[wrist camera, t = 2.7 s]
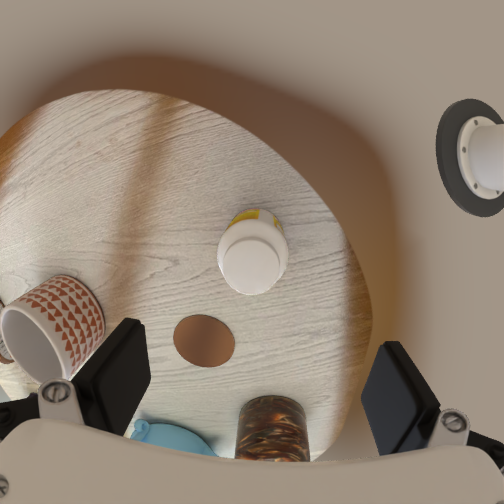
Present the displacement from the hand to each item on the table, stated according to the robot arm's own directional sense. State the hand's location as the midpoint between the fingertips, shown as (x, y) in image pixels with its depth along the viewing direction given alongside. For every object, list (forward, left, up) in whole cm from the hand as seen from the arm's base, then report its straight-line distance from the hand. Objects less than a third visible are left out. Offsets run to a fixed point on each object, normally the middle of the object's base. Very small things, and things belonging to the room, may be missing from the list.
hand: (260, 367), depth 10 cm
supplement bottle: (+1, 0, -26) cm, 26 cm away
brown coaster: (+8, +16, -26) cm, 32 cm away
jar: (-3, +32, -26) cm, 42 cm away
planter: (+31, +14, -26) cm, 43 cm away
